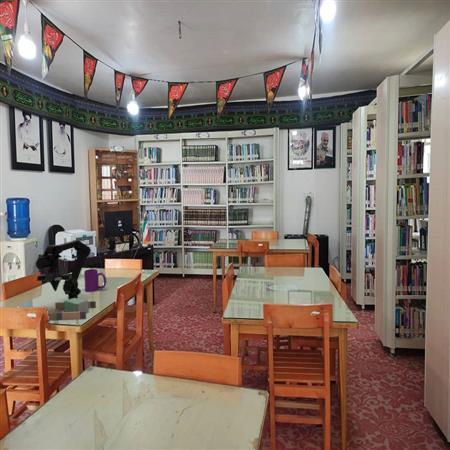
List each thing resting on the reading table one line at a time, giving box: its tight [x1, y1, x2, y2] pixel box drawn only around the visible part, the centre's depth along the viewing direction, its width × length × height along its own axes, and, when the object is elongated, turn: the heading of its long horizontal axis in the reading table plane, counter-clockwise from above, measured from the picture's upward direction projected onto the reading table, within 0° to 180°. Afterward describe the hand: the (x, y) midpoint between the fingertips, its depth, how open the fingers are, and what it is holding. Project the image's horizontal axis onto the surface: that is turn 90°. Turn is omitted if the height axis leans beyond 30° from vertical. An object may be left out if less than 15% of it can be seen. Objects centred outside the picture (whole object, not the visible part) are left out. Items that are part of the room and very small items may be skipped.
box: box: [63, 297, 90, 314], centre depth 212 cm, size 7×14×8 cm, turn 59°
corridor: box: [47, 300, 97, 321], centre depth 210 cm, size 20×24×4 cm
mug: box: [83, 268, 107, 293], centre depth 259 cm, size 9×16×15 cm, turn 90°
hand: (55, 290), depth 216 cm, fingers closed
